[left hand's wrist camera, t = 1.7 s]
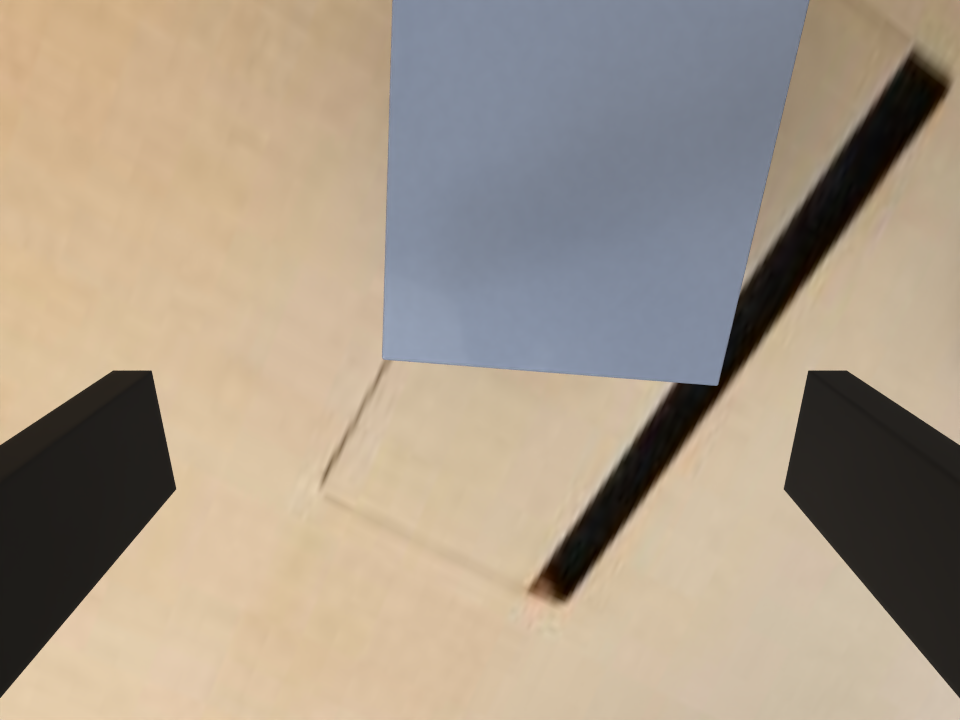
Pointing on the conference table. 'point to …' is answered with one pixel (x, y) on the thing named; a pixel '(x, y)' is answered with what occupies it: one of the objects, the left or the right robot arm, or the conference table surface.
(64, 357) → the conference table surface
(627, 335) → the cabinet
